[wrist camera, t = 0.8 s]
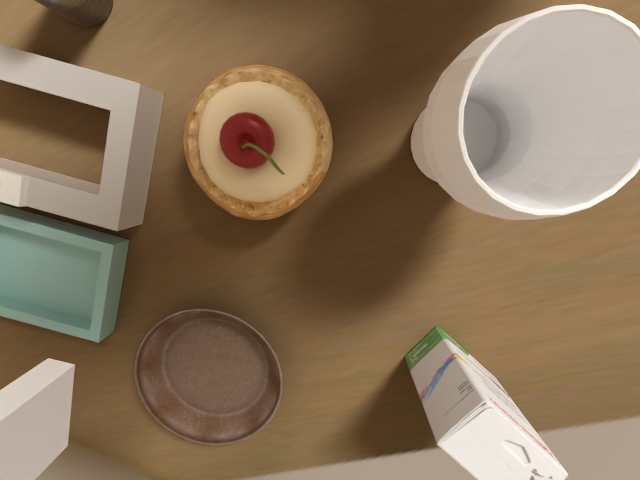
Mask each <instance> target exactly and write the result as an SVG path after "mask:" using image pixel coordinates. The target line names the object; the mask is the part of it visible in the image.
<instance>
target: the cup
mask: <svg viewBox="0 0 640 480" xmlns="http://www.w3.org/2000/svg"><path fill="white" fill-rule="evenodd" d="M411 151H412V155H413V159H414V161H415V163H416V164H417V166H418V168H419V170H421V171H422V172H423V173H424V174H425V175H426V176H427V177H428V178H430V179H432V180H434V181H435V182H438V183H439V185H440V186H441V187H442V188H443V189H444V190H445V191H446V192H447V193H448V194H449V195H450V196H451V197H452V198H453V199H454V200H456V201H458V202H459V203H461V204H463V205H465V206H467V207H469V208H471V209H472V210H474V211H477V212H480V213H484V214H487V215H491V216H495V217H499V218H504V219H508V220H531V219H542V218H549V217H556V216H562V215H566V214H570V213H573V212H577V211H580V210H584V209H587V208H590V207H592V206H593V205H595V204H597V203H599V202H601V201H602V200H604V199H606V198H608V197H609V196H611V195H613V194H614V193H615V192H617V191H618V190H619V189H620V188H621V187H622V186H623V185H624V184H625V183H627V182H628V181H629V180H630V179H631V178H632V177H633V176H634V175H635V174H636V173H637V171H638V170H639V169H640V30H639V29H638V28H637V26H636V25H635V24H633V23H631V22H630V21H628V20H626V19H625V18H623V17H621V16H620V15H618V14H616V13H614V12H613V11H611V10H607V9H602V8H598V7H594V6H589V5H585V4H577V5H561V6H552V7H549V8H546V9H543V10H540V11H537V12H534V13H531V14H528V15H525V16H522V17H519V18H516V19H514V20H511V21H508V22H505V23H502V24H499V25H497V26H495V27H494V28H492V29H491V30H489V31H488V32H486V33H485V34H483V35H482V36H480V37H479V38H477V39H476V40H474V41H473V42H472V43H471V44H470V45H469V46H467V47H466V48H465V49H464V50H463V51H462V52H461V53H460V54H459V55H458V56H457V57H456V58H455V59H454V61H453V62H452V63H451V64H450V65H449V66H448V67H447V68H446V69H445V70H444V71H443V73H442V74H441V76H440V78H439V79H438V81H437V83H436V85H435V87H434V89H433V90H432V92H431V94H430V96H429V100H428V104H427V107H426V108H425V109H424V110H423V112H422V113H421V114H420V115H419V117H418V119H417V121H416V122H415V124H414V127H413V131H412V135H411Z"/></svg>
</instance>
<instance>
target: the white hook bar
mask: <svg viewBox="0 0 640 480" xmlns="http://www.w3.org/2000/svg"><path fill="white" fill-rule="evenodd" d="M0 80H4V81H7V82H11V83H15V84H18V85H22V86H25V87H29V88H32V89H36V90H39V91H43V92H47V93H50V94H54V95H57V96H61V97H64V98H68V99H72V100H75V101H79V102H82V103H86V104H89V105H93V106H96V107H100V108H104V109H107V110H111V112H110V119H109V126H108V133H107V140H106V147H105V155H104V162H103V169H102V176H101V183H100V185H99V184H95V183H91V182H88V181H84V180H81V179H77V178H73V177H70V176H66V175H63V174H59V173H55V172H52V171H48V170H45V169H41V168H37V167H34V166H30V165H27V164H23V163H20V162H16V161H12V160H9V159H5V158H0V202H3V203H7V204H10V205H14V206H17V207H23V206H28V207H31V208H35V209H39V210H42V211H46V212H50V213H53V214H57V215H60V216H64V217H68V218H71V219H75V220H78V221H82V222H86V223H89V224H93V225H96V226H100V227H104V228H107V229H111V230H114V231H120V230H124V229H127V228H130V227H134V226H137V225H141V224H143V218H144V213H145V207H146V201H147V195H148V189H149V183H150V177H151V171H152V165H153V160H154V154H155V148H156V142H157V136H158V130H159V124H160V118H161V112H162V107H163V101H164V95H165V94H163V93H161V92H158V91H156V90H154V89H151V88H149V87H147V86H144V85H142V84H140V83H136V82H133V81H129V80H125V79H122V78H118V77H115V76H111V75H108V74H104V73H101V72H97V71H94V70H90V69H86V68H83V67H79V66H76V65H72V64H69V63H65V62H62V61H58V60H54V59H51V58H47V57H44V56H40V55H37V54H33V53H30V52H26V51H23V50H19V49H15V48H12V47H8V46H5V45H1V44H0Z"/></svg>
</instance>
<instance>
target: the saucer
mask: <svg viewBox="0 0 640 480" xmlns="http://www.w3.org/2000/svg"><path fill="white" fill-rule="evenodd" d="M134 373H135V382H136V387H137V390H138V393H139V396H140V398H141V400H142V402H143V404H144V406H145V407H146V409H147V410H148V412H149V413H150V414H151V415H152V417H153V418H154V419H155V420H156V421H157V422H158V423H159V424H160V425H162V426H163V427H164V428H166V429H167V430H168V431H170V432H171V433H173V434H175V435H177V436H179V437H181V438H183V439H185V440H188V441H191V442H194V443H198V444H204V445H228V444H233V443H237V442H240V441H243V440H246V439H248V438H250V437H252V436H253V435H255V434H256V433H258V432H259V431H260V430H262V429H263V428H264V427H265V426H266V425H267V424H268V422H269V421H270V420H271V419H272V417H273V416H274V414H275V412H276V410H277V408H278V406H279V403H280V400H281V396H282V387H283V379H282V372H281V368H280V364H279V361H278V359H277V356H276V354H275V352H274V350H273V349H272V347H271V346H270V344H269V343H268V342H267V340H266V339H265V338H264V337H263V336H262V335H261V334H260V333H259V332H258V331H257V330H256V329H255V328H253V327H252V326H251V325H249V324H248V323H246V322H245V321H243V320H241V319H239V318H237V317H235V316H233V315H230V314H228V313H224V312H221V311H216V310H209V309H191V310H185V311H181V312H178V313H175V314H173V315H170V316H168V317H166V318H165V319H163V320H161V321H160V322H159V323H157V324H156V325H155V326H154V327H153V328H152V329H151V330H150V331H149V332H148V333H147V334H146V336H145V337H144V339H143V341H142V342H141V344H140V347H139V349H138V352H137V355H136V359H135V367H134Z"/></svg>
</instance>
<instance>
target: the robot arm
mask: <svg viewBox="0 0 640 480" xmlns="http://www.w3.org/2000/svg"><path fill="white" fill-rule="evenodd" d="M74 370H75V364H71V363H66V362H62V361H58V360H54V359H50V358H48V359H46V360H45V361H43V362H42V363H40V364H39V365H37V366H36V367H34V368H33V369H31V370H30V371H28V372H27V373H25V374H24V375H22V376H21V377H19V378H18V379H16V380H15V381H13V382H12V383H10V384H9V385H7V386H6V387H4V388H3V389H1V390H0V480H35V479H36V478H37V477H38V476H39V475H40V474H41V473H42V472H43V471H44V470H45V469H46V468H47V467H48V466H49V465H50V464H51V463H52V462H53V461H54V460H55V459H56V457H57V456H58V455H59V454H60V453H61V452H62V451H63V450H64V449H65V448H66V447H67V446H68V437H69V426H70V415H71V403H72V392H73V381H74ZM530 480H553V479H548V478H544V477H540V476H536V475H532V476H531V478H530Z"/></svg>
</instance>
